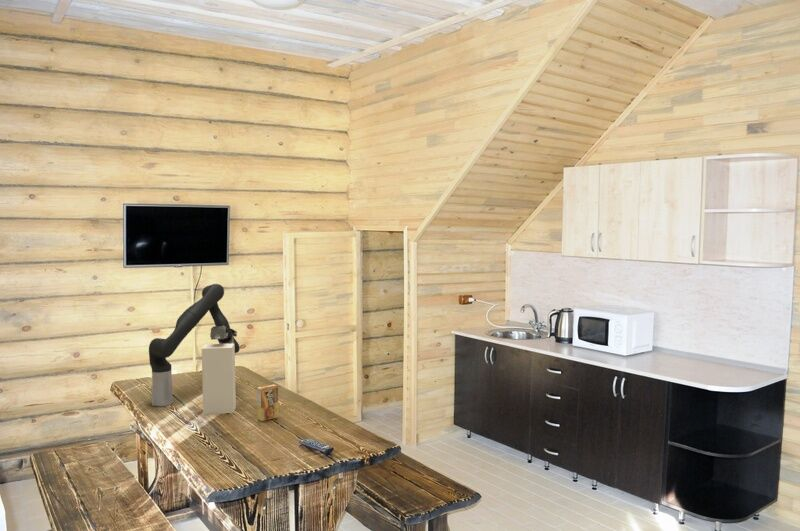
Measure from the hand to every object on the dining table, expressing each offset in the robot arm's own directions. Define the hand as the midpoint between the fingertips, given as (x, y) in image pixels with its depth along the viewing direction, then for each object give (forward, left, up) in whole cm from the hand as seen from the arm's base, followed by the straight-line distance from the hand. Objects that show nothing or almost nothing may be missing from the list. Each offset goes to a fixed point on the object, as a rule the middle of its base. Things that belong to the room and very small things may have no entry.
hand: (221, 328), depth 315 cm
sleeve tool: (0, -3, -3) cm, 4 cm away
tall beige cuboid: (0, -11, -39) cm, 40 cm away
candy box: (+24, -26, -39) cm, 52 cm away
